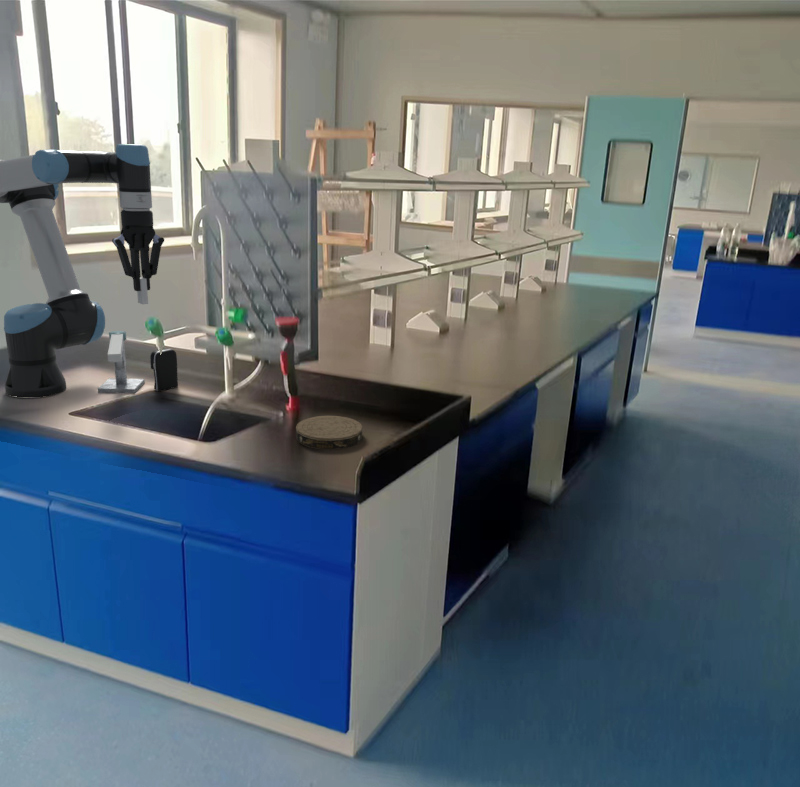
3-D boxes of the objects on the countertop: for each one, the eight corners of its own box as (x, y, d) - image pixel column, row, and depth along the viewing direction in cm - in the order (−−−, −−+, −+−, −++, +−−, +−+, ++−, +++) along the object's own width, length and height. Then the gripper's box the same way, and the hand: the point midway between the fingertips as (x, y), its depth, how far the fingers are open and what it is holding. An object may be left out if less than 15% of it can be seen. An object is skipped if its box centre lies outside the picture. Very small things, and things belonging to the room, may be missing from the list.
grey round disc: (334, 422, 188) (334, 411, 187) (375, 440, 177) (375, 428, 176) (282, 436, 177) (282, 424, 176) (323, 456, 167) (323, 443, 166)
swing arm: (109, 338, 205) (109, 331, 205) (126, 337, 207) (126, 330, 206) (105, 362, 182) (104, 354, 181) (124, 361, 183) (123, 353, 183)
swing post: (98, 392, 203) (93, 344, 199) (109, 382, 213) (105, 336, 209) (134, 393, 204) (131, 345, 200) (144, 382, 213) (141, 337, 209)
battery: (171, 384, 213) (168, 346, 209) (179, 387, 211) (177, 348, 207) (150, 389, 208) (147, 350, 204) (158, 392, 205) (155, 352, 202)
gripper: (117, 211, 175) (124, 308, 183) (168, 210, 184) (173, 303, 191) (104, 208, 181) (112, 303, 188) (154, 208, 189) (160, 298, 196)
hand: (143, 303), depth 189 cm, fingers closed
